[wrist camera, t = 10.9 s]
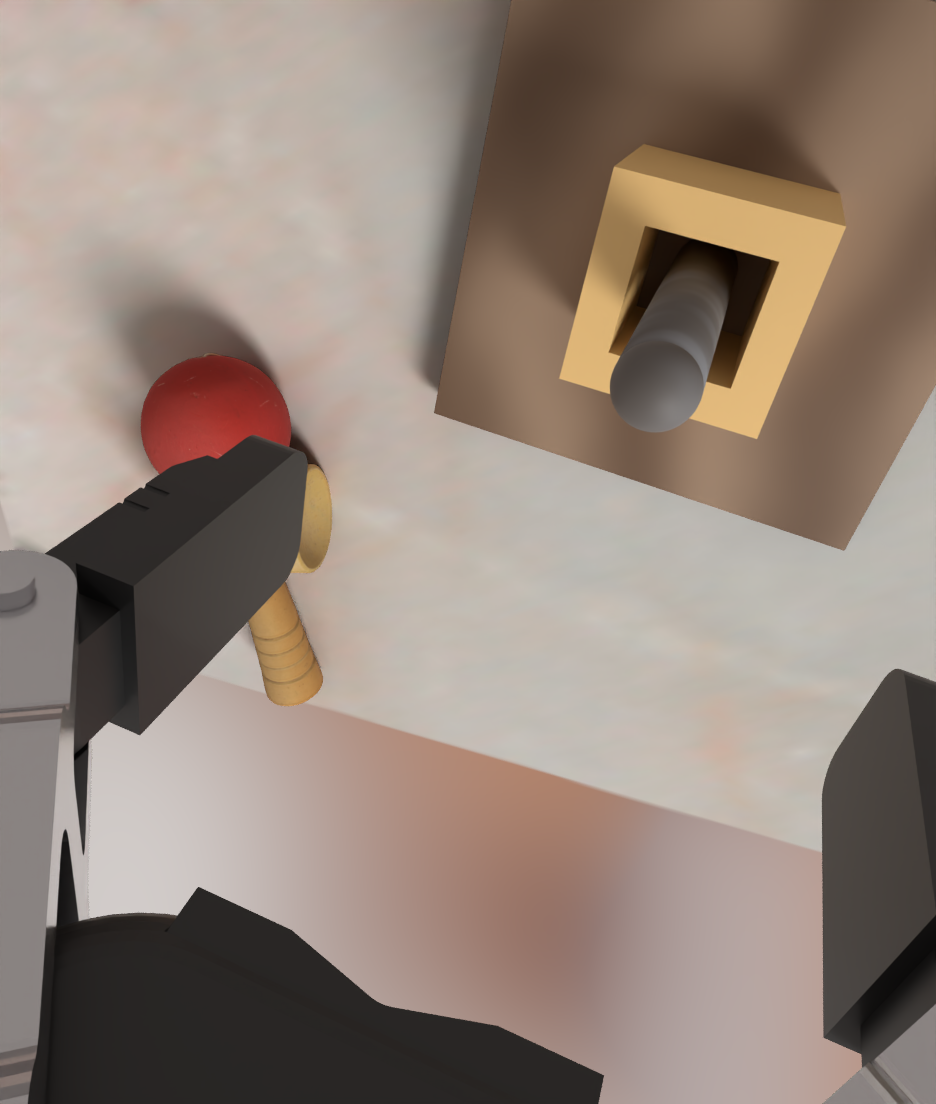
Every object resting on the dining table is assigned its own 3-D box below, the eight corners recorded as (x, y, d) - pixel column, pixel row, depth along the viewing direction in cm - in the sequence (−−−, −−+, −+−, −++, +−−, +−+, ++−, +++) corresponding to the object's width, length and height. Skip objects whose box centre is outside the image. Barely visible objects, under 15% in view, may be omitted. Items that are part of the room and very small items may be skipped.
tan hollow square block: (840, 193, 25) (846, 226, 21) (763, 380, 29) (756, 439, 25) (643, 143, 26) (613, 166, 22) (592, 329, 30) (559, 378, 26)
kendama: (397, 661, 45) (321, 342, 34) (326, 750, 41) (214, 419, 30) (282, 624, 48) (179, 322, 37) (206, 702, 44) (66, 389, 33)
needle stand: (1106, 43, 23) (1378, 64, 12) (842, 530, 32) (860, 793, 21) (541, -87, 25) (341, -166, 15) (447, 399, 35) (281, 573, 24)
